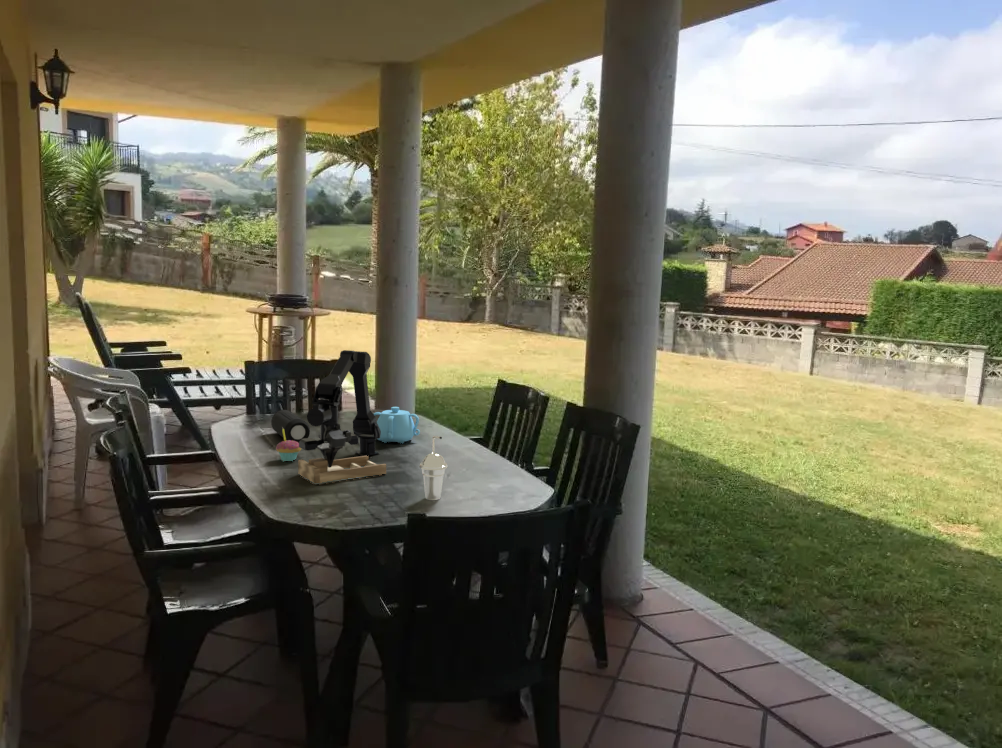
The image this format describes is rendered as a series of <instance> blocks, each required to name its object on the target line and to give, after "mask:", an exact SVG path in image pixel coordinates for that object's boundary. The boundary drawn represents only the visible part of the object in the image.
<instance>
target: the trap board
mask: <svg viewBox="0 0 1002 748" xmlns="http://www.w3.org/2000/svg"><path fill="white" fill-rule="evenodd" d="M369 456H370V455H368V456H362V455H360V456H354V457H353V456H352V457H345V458H338V459H334V461H333V464H332V466H331V467H330V468H329V467H328V472H321V473H320V469H319V468H317V467H315V466H313V465H312V464H310V463H309V461H306V460H305V459H298V461H297V463H298V464H297V465H298V466H297V467H298V468H297V472H298V473H297V474H300V475H301V476H303V477H305V478H307V479H309V480H310V481H312V482H314V483H322V482H327V481H333V480H341V479H348V478H356V477H364V476H373V475H379V476H383V475H382V474H386V475H387V464H386V463H380V464H377V463H375V462H373V461H371V460H369V459H370V458H369ZM365 465H366V466H365ZM361 466H364V467H361ZM344 468H350V469H344ZM301 476H300V477H301ZM303 477H302V478H303ZM373 477H374V476H373Z"/></svg>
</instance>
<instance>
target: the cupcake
mask: <svg viewBox="0 0 1002 748" xmlns="http://www.w3.org/2000/svg"><path fill="white" fill-rule="evenodd" d="M282 428H283V427H282ZM282 431H283V437H284V438H283V437H282V438H283V440H282V441H280V442H279V443H278V444H276V447H275V449H276V451H277V453H278V454H279V456H280V459H281V461H282V460H283V461H282V462H284V461H292V462H294V461H293V460H295V459H296V460H297V456H298V454H299V452H301V451H302V448H300V447H299V443H298V442H296V441H293V440H292V441H291V440H286V437H285V431H284V429H282ZM296 460H295V461H296Z"/></svg>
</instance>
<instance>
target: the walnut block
mask: <svg viewBox="0 0 1002 748" xmlns="http://www.w3.org/2000/svg"><path fill="white" fill-rule="evenodd" d="M308 463H310V464H312V465H313V466H315V467H317V468H319V469H320V473H321V472H328V461H327V460H325V459H324V457H318V458H311V459H308Z"/></svg>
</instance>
